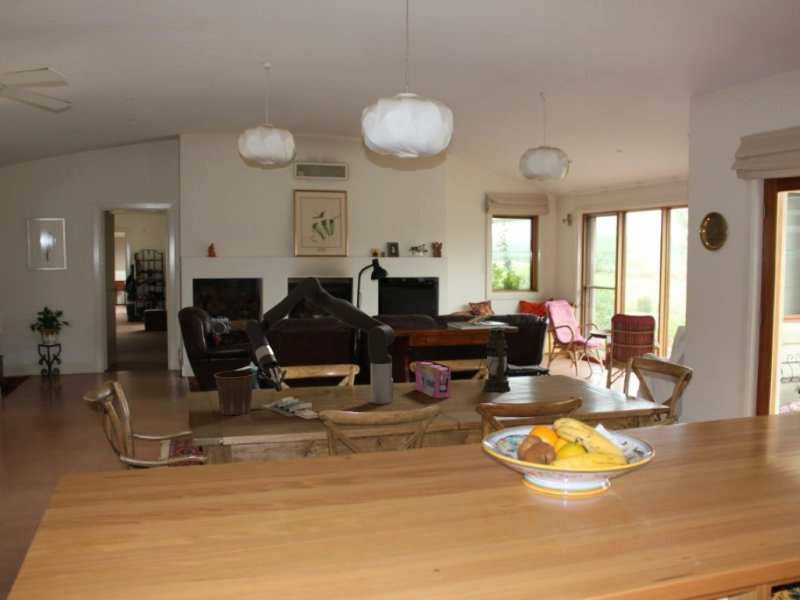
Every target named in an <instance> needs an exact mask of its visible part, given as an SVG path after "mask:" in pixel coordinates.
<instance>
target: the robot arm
mask: <svg viewBox="0 0 800 600" xmlns="http://www.w3.org/2000/svg"><path fill="white" fill-rule="evenodd" d="M303 298H304V299H305V300H307V301H308V302H309V303H311V304H313V305H315V306H317V307H319V308H321V309H323V310H324V311H326V312H327V313H329V314H330V315H331V316H333V317H334V318H335V319H337V320H338V321H339V322H341V323H343V324H344V325H346V326H348V327H350V328H353V329H357V330H359V331H362V332H364V333H367V351H368V357H369V360H370V403H372V404H374V405H375V404H378V405H385V404H390V403H391V404H392V402H393V401H394V379H393V363H392V362H393V359H392V358H393V357H392V356H391V355H390V354H389V353H388V348H387V347H389V346H390V345H392V344H393V343H394V342H395V340H396V334H395V333H396V332H395V331H394V330H393V328H392V327H391V326H389V325H388V324H386V323H383V322H381V321H379V320H378V319H376V318H373V317H372V316H371V315H369V314H368V313H366V312H365V311H363V310H361V309H360V308H359V307H357V306H356V305H354V304H353V303H351V302H349V300H346V299H342V298H337V297H335V296H333V295H331V294H329V293H328V292H327V291H326V290H325V289H324V288H323V287H322V284H321V282H320V281H319V279H318V278H317V277H314V276H309V277H306V278H304V279H303V280H302V281H300V283H299V284H297V286H295V287H294V289H293V290H291V291H290V292H289V293H288V294H287V295H286V296H285V297H284V298H283V299H282V300H280V302H277V304H275V305H274V306H273V307H271V308H270V309H268V310H267V311H266V312H264V313H263V314H262V320H261V321H260V322H259V321H258V320H256V319H249V320H248V321H246V323H245V325H244V331H245V333H246V335H247V337H248V339H249V341H250V343H251V345H252V348H253V350H254V353H255V357H256V359H257V362H258V365H259V367H260V370H261V372H260V374H259V376H258V379H260V380H261V381H263V382H264V383H265V384H267V385H269V386H270V385H272V386H273V388H274V390H275V391H276V393H279V392H280V393H281V392H282V390H283V388H284V387H283V385H282V383H283V381H284V380H285V377H286V374H287V372H288V371H287V369H284V370H282V369H281V367H280V365H279V363H278V360H277V357H276V355H275V352H274V351H273V349H272V348H271V345H270V343H269V341H268V338H267V337H266V335H267V334H268V333H269V332H270V331H271V330H272V329H273V327H274V326H276V325H277V324H278V323H280V322H281V321H282V320H284V319H285V318H286V317H287V316H288V315H289V314H290V313H291V311H292V310H293V308H294V307H295V306H296V305H297V303H298V302H300V301H301V300H302V299H303ZM280 376H281V377H280Z"/></svg>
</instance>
